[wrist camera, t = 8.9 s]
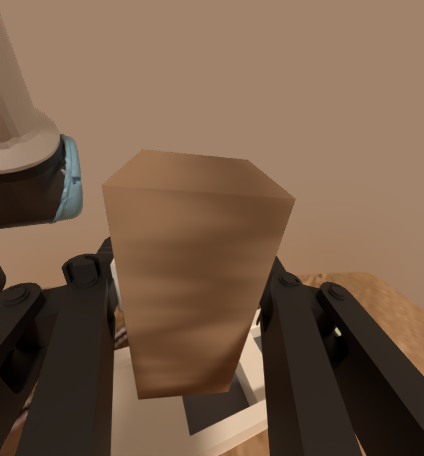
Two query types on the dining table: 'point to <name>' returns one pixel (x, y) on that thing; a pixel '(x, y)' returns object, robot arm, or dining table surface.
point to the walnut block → (191, 264)
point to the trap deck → (190, 411)
